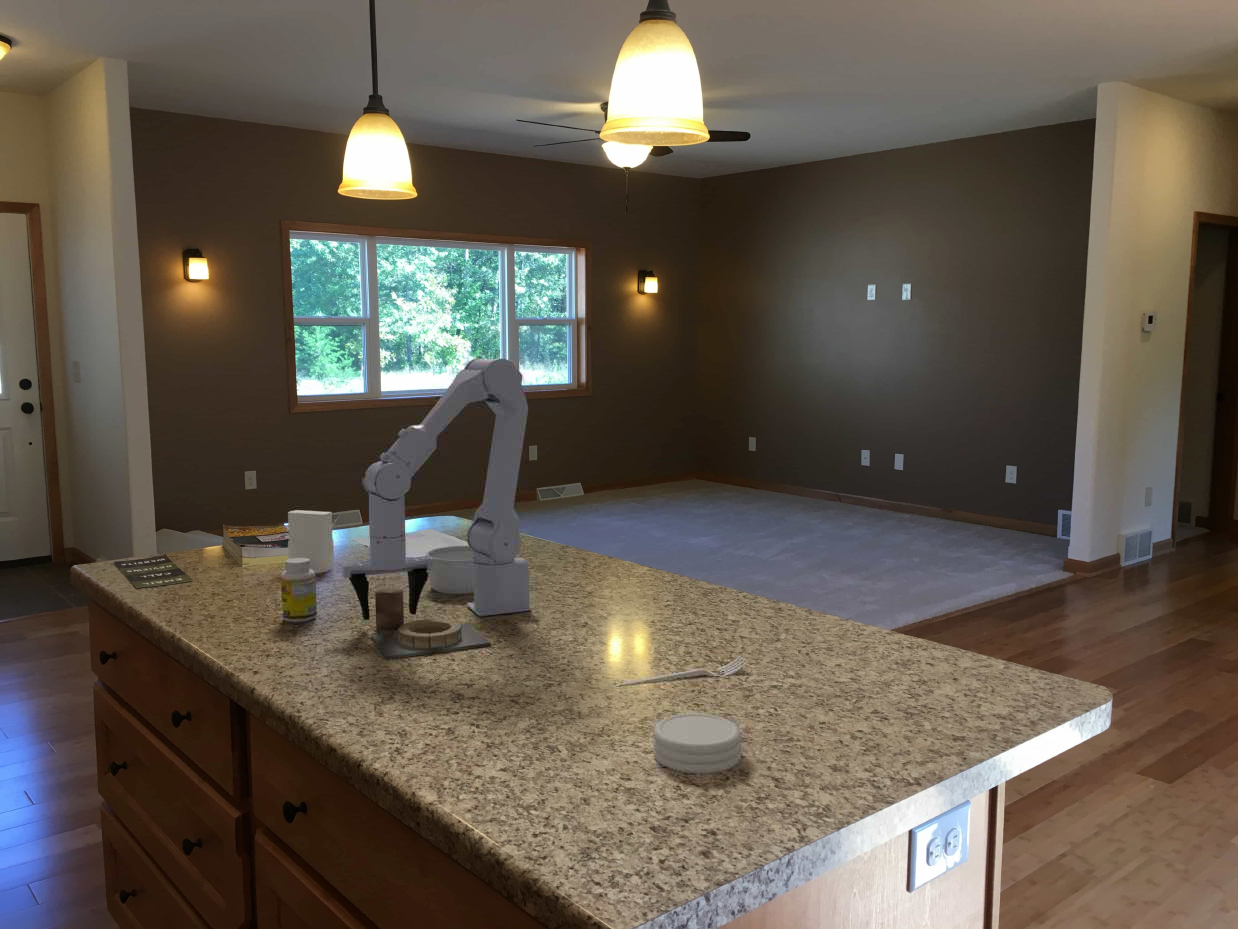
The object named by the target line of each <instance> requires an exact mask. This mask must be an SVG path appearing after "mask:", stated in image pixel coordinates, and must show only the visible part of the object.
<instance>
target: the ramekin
mask: <svg viewBox="0 0 1238 929" xmlns="http://www.w3.org/2000/svg"><path fill="white" fill-rule="evenodd" d="M425 557H431V558H433V570H427V572H428V580H429V584H430V587H431V588H432V589H433V590H434V591H436V592H437V593H441V594H447V595H449V594H450V595H465V594H474V576H473V550H472V549H471V548H470V547H469V545H451V546H449V545H448V546H442V547H437V548H433V549H431V550H428V551H427V552H426V553H425Z"/></svg>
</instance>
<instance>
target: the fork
mask: <svg viewBox="0 0 1238 929" xmlns="http://www.w3.org/2000/svg"><path fill="white" fill-rule="evenodd" d="M748 663H749V661H748V660H747V661H746V659H744V658H743V657H742V656H739V657H738V658H736V659H735V660H733V661H731V662H730V663H727V664H725V665H724V666H721V667H719V668H717V669H718V670H719V671H720V673H721V672H722V671H724V672H722V673H724V676H723V677H727V676H726V675H729V676H733V675H735V674H737V673H738V672H739V671H740V670H742V669H743V668H744V667H745V666H746V665H747V664H748ZM709 670H710V669H706V668H697V669H696V668H695V669H691V670H687V671H680V672H676V673H670V674H665V675H659V676H654V677H648V678H644V679H637V680H634V681H633V680H632V681H628V682H622V683H617V684H618V685H626V686H629V685H628V684H634V685H636V684H635V683H641V682H651V683H654V682H653V681H659V682H663V681H662V680H668V681H671V680H670V679H675V678H681V679H687V678H692V677H697V676H698V677H699V676H708V677H710V676H717V675H715V673H712V672H711V671H709ZM722 673H721V674H722ZM684 677H685V678H684ZM686 677H687V678H686ZM660 680H661V681H660ZM675 680H676V679H675Z"/></svg>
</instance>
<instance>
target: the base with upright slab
mask: <svg viewBox="0 0 1238 929" xmlns="http://www.w3.org/2000/svg"><path fill="white" fill-rule="evenodd" d="M287 522H288V523H287V526H288V542H287V544H288V546H287V547H288V548H287V549H288V559H293V558H307V559H309V560H310V569H312V570H313V571H314V572H315V573H316V574H321V573H322V572H323V573H327V572H330V571H329V570H331V571H332V569H333V570H334V569H335V551H334V549H335V546H334V538H333V513H332V511H321V510H320V511H318V510H303V509H302V510H299V509H296V510H291V511H288V512H287Z"/></svg>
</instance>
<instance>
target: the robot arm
mask: <svg viewBox="0 0 1238 929" xmlns="http://www.w3.org/2000/svg"><path fill="white" fill-rule="evenodd" d="M523 377H524V376H523V373H522V372H521V371H520V370H519V369H518V367H517V366H516V365H515V364H514V363H513V362H512V361H510V360H509V359H507V358H496V359H495V358H493V359H492V358H481V357H477V358H473V359H471V360H469V361H468V362H467V363H466V365H465V366H464V368H463V369H461V370H460V371H459V372H458V373H457V374H456V375H455V377H454V379H453V381H452V382H451V384H450V385H449V386H448V388H447V389H446V390H445V392H444V393H443V394H442V396H441V397H440V398H439V399H438V401H437V402H436V403H435V405H434V406H433V407H432V408H431V410H430V411H429V412H428V414H427V415H426V417H425V418H424V419H423V420H422V422H420V424H417V425H416V424H414V425H410V426H408V427H407V428H406V429H405V428H401V430H399V432H398V433H397V436H399V438H398V439H397V440H396V441H395V442H394V443H393V444H392V445H391V447H390V448H389V449H388V450H387V451H386V452H382V453H381V454H380V456H379V459H380V460H381V461H377V462H374V463H372V464H371V465H370V466H368V468H367V469H366V471H365V473H364V474H365V476H364V478H362V479H361V480H362V486H363V487H364V489H365V491H366V492H367V493H368V522H369V524H368V525H369V553H370V554H369V556H370V557H369V559H368V560H363V561H356V562H351V563H349V562H348V563H342V566H341V567H342V568H341V569H342V570H341V571H342V572H341V573H342V577H343V578H345V579H347V578H348V579H349V581H350V583H351V585H352V588H353V589H354V591H355V593H356V596H357V599H358V602H359V605H360V607H361V608H360V609H361V613H362V614H361V615H362V618H363V619H364V621H368V620H370V606H369V604H370V603H369V590H370V589H369V588H370V582H369V581H368V577H367V576H369V575H370V576H372V575H380V574H392V573H393V574H394V573H404V572H407V579H408V581H407V582H408V612H409V613H410V615H412V616H414V615H416V616H417V609H418V604H419V601H420V597H421V594H422V592H423V589H424V587H425V584H426V583H427V581H428V580H429V573H428V570H433V558H431V557H426V556H416V557H415V556H413V557H412V556H407V552H406V551H407V548H406V547H407V546H406V544H407V542H406V541H407V540H406V506H405V494H406V493H408V492H409V490H410V489H411V481H412V477H413V476H414V475H415V474H416V473H417V472H418V470H419V469H420V468H421V467H422V465H424V463H425V462H426V461H427V460H428V458H430V456H431V455H433V453H434V452H435V450H436V449H437V437H438V436H439V435H440V434H441V433H442V432H443V430H444V429H446V427H448V425H449V424H450V423H451V422H452V421H453V420H454V419H455V418H456V417H457V415H458V414H459V413H461V411H462V410H463V409H464V408H466V406H467V405H468V404H471V403H475V402H479V401H484V402H485V403H486V404H487V406H488V407H489V408H490V410H492V412H493V413H494V414H495V421H494V426H493V434H492V439H491V447H490V453H489V458H488V465H487V472H486V480H485V486H484V492H483V493H484V494H483V500H482V503H481V504H480V506H478V508H477V509H476V511H475V513H474V515H473V521H472V523H471V524H470V526H469V527H468V529H467V532H466V544H467V546H469V547H470V548H471V549H472V550H473V576H474V593H473V602H467V603H466V606H467V607H468V608H469V609H470V610H471V611H473V612H474V613H475V614H476V615H477V616H478V617H486V616H495V615H502V614H512V613H518V612H520V613H521V612H527V611H531V610H532V608H531V607H530V571H529V566H528V562H527V561H526V559H525V558H524V557H516V556H518V554H519V552H520V549H521V546H522V539H521V535H520V529H519V527H520V519H519V516H518V514H517V513H516V510H515V508H514V505H515V499H516V494H517V493H516V492H517V487H518V480H519V473H520V465H521V459H522V453H523V445H524V439H525V433H526V426H527V421H528V420H527V419H528V413H529V406H528V405H529V404H528V401H527V398H526V394H525V392H524V391H525V390H524V388H523V385H522V384H523Z"/></svg>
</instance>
